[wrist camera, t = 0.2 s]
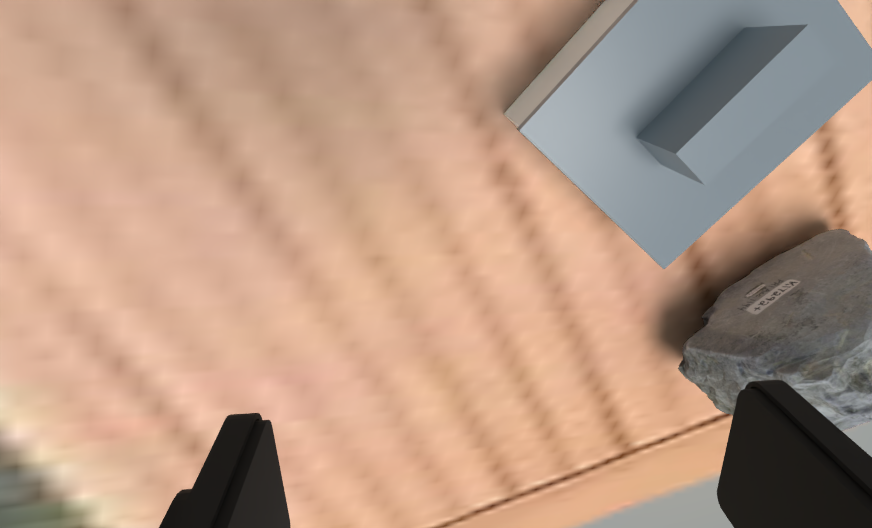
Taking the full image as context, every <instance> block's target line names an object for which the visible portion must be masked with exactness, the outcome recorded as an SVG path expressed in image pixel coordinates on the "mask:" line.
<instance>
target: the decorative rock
mask: <svg viewBox="0 0 872 528" xmlns="http://www.w3.org/2000/svg"><path fill="white" fill-rule="evenodd" d="M701 318H703V319H704V326H705V327H703V328H702V329H701V330H699V331H698V332H696V333H695V334H694V335H693V336H692V337H690V338H689V339H688V340H687V341H686V342H685V343H684V344H683V348H682V352H683V360H682V361H681V363H680V365H679V368H678V369H679V371H680V372H681V373H682V374H683V375H684V376H685V377H686V378H687V379H688V380H690V381H691V382H693V383H695V384H696V385H697V386H698V387H699V388H700V389H701V390H702V391H703V392H704V393H706V394H707V395H708V398H709V399H710V400H712V401H713V403H714V405H715V407H716V408H717V409H719V410H720V411H722V412H724V413H727V414H732V415H734V411H735V406H736V401H737V397H738V394H739V392H740V391H741V390H743V389H745V387H746V385H747V384H748V383H749V382H752V381H764V380H783V381H784V382H786V383H787V384H788V385H790V386H791V387H792V388H793V389H794V390H795V391H796V392H798V393H799V394H800V395H801V396H802V397H803V398H804V399H806V400H807V401H808V402H809V403H810V404H811V405H812V406H814V407H815V408H816V409H817V410H818V411H819V412H820V413H822V414H823V415H824V416H825V417H826V418H827V419H828V420H830V421H831V422H832V423H833V424H834V425H835V426H836V427H837V428H839V429H840V430H841V431H843V430H846V429H849V428H852V427H855V426H857V425H860V424H863V423H866V422H870V421H872V251H871V250H870V248H869V246H868V244H867V242H866V241H864V240H863V239H860V238H857V237H856V236H854V235H851V234H850V233H849V231H847V230H844V229H836V230H830V231H827V232H824V233H821V234H818V235H816V236H814V237H813V238H811V239H809V240H808V241H806V242H804V243H802V244H800V245H799V246H797V247H794V248H792V249H790V250H789V251H787V252H784V253H782V254H779V255H777V256H776V257H774V258H773V259H771V260H769V261H768V262H766V263H764V264H763V265H761V266H759V267H758V268H756V269H754V270H753V271H751V273H750V274H749V275H748V276H746V277H745V278H743V279H742V280H740V281H738V282H736V283H734V284H732V285H731V286H729V287H728V288H726V289H725V290H724V291H723V292H722V293H721V294H720V295H719V296H718V298H717V300H716V301H715V303H714V305H713V306H711V307H710V308H709V309H708V310H707V311H706V312H705V313H704V314H703V316H702V317H701Z"/></svg>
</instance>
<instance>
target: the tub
mask: <svg viewBox="0 0 872 528" xmlns="http://www.w3.org/2000/svg"><path fill="white" fill-rule="evenodd" d="M632 2H633V0H605V1H604V2H603V3H602V4H601V5H600V7H599V8H598V9H597V10H596V11H595V12H594V13H593V14H592V15H591V17H590V18H589V19H588V20H587V21H586V22H585V23H584V24H583V26H582V27H581V28H580V29H579V30H578V31H577V32H576V33H575V34H574V36H573V37H572V38H571V39H570V40H569V41H568V42H567V43H566V45H565V46H564V47H563V48H562V49H561V50H560V51H559V52H558V53H557V55H556V56H555V57H554V58H553V59H552V60H551V61H550V62H549V64H548V65H547V66H546V67H545V68H544V69H543V70H542V71H541V72H540V74H539V75H538V76H537V77H536V78H535V79H534V80H533V81H532V82H531V84H530V85H529V86H528V87H527V88H526V89H525V90H524V91H523V93H522V94H521V95H520V96H519V97H518V98H517V99H516V100H515V101H514V103H513V104H512V105H511V106H510V107H509V108H508V109H507V110H506V112H505V113H504V115H505V116H506V117H507V118H508V119H509V120H510V121H511V122H512V123H513V124H514V125H515V126H516V127H517V128H518V127H519V126H520V124H521V123H522V122H523V121H524V120H525V119H526V118H527V117H528V116H529V115H530V113H531V112H532V111H533V110H534V109H535V108H536V107H537V106H538V105H539V104H540V102H541V101H542V100H543V99H544V98H545V97H546V96H547V95H548V94H549V93H550V91H551V90H552V89H553V88H554V87H555V86H556V85H557V84H558V83H559V82H560V81H561V79H562V78H563V77H564V76H565V75H566V74H567V73H568V72H569V71H570V70H571V68H572V67H573V66H574V65H575V64H576V63H577V62H578V61H579V60H580V59H581V57H582V56H583V55H584V54H585V53H586V52H587V51H588V50H589V49H590V48H591V47H592V45H593V44H594V43H595V42H596V41H597V40H598V39H599V38H600V37H601V36H602V34H603V33H604V32H605V31H606V30H607V29H608V28H609V27H610V26H611V25H612V23H613V22H614V21H615V20H616V19H617V18H618V17H619V16H620V15H621V14H622V12H623V11H624V10H625V9H626V8H627V7H628V6H629V5H630V4H631V3H632Z"/></svg>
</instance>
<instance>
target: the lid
mask: <svg viewBox="0 0 872 528" xmlns="http://www.w3.org/2000/svg"><path fill="white" fill-rule="evenodd" d="M870 81H872V49H871V47H870V46H869V44H868V43H867V41H866V40H865V39H864V37H863V36H862V34H861V33H860V32H859V30H858V29H857V27H856V26H855V25H854V23H853V22H852V20H851V19H850V17H849V16H848V15H847V13H846V12H845V10H844V9H843V8H842V6H841V5H840V3H839V2H838V0H633V2H632V3H631V4H630V5H629V6H628V7H627V8H626V9H625V10H624V11H623V12H622V14H621V15H620V16H619V17H618V18H617V19H616V20H615V21H614V22H613V23H612V25H611V26H610V27H609V28H608V29H607V30H606V31H605V32H604V33H603V34H602V36H601V37H600V38H599V39H598V40H597V41H596V42H595V43H594V44H593V45H592V47H591V48H590V49H589V50H588V51H587V52H586V53H585V54H584V55H583V56H582V57H581V59H580V60H579V61H578V62H577V63H576V64H575V65H574V66H573V67H572V68H571V70H570V71H569V72H568V73H567V74H566V75H565V76H564V77H563V78H562V79H561V81H560V82H559V83H558V84H557V85H556V86H555V87H554V88H553V89H552V90H551V91H550V93H549V94H548V95H547V96H546V97H545V98H544V99H543V100H542V101H541V102H540V104H539V105H538V106H537V107H536V108H535V109H534V110H533V111H532V112H531V113H530V115H529V116H528V117H527V118H526V119H525V120H524V121H523V122H522V123H521V124H520V126H519V127H518V128H517V130H519V131H520V132H521V133H522V134H523V135H524V136H525V137H526V138H527V139H528V140H529V141H530V142H531V143H532V144H533V145H534V146H535V147H536V148H537V149H538V150H539V151H540V152H542V153H543V154H544V155H545V156H546V157H547V158H548V159H549V160H550V161H551V162H552V163H553V164H554V165H555V166H556V167H557V168H558V169H559V170H560V171H561V172H562V173H563V174H564V175H566V176H567V177H568V178H569V179H570V180H571V181H572V182H573V183H574V184H575V185H576V186H577V187H578V188H579V189H580V190H581V191H582V192H583V193H584V194H585V195H586V196H587V197H589V198H590V199H591V200H592V201H593V202H594V203H595V204H596V205H597V206H598V207H599V208H600V209H601V210H602V211H603V212H604V213H605V214H606V215H607V216H608V217H609V218H610V219H612V220H613V221H614V222H615V223H616V224H617V225H618V226H619V227H620V228H621V229H622V230H623V231H624V232H625V233H626V234H627V235H628V236H629V237H630V238H631V239H632V240H633V241H634V242H636V243H637V244H638V245H639V246H640V247H641V248H642V249H643V250H644V251H645V252H646V253H647V254H648V255H649V256H650V257H651V258H652V259H653V260H654V261H655V262H656V263H657V264H659V265H660V266H661V267H662V268H663V269H665V268H666V267H667V266H669V265H670V264H671V263H672V262H673V261H674V260H675V259H676V258H677V257H678V256H679V255H681V254H682V253H683V252H684V251H685V250H686V249H687V248H688V247H689V246H690V245H692V244H693V243H694V242H695V241H696V240H697V239H698V238H699V237H700V236H701V235H703V234H704V233H705V232H706V231H707V230H708V229H709V228H710V227H711V226H712V225H713V224H715V223H716V222H717V221H718V220H719V219H720V218H721V217H722V216H723V215H724V214H726V213H727V212H728V211H729V210H730V209H731V208H732V207H733V206H734V205H735V204H737V203H738V202H739V201H740V200H741V199H742V198H743V197H744V196H745V195H746V194H748V193H749V192H750V191H751V190H752V189H753V188H754V187H755V186H756V185H757V184H758V183H760V182H761V181H762V180H763V179H764V178H765V177H766V176H767V175H768V174H769V173H771V172H772V171H773V170H774V169H775V168H776V167H777V166H778V165H779V164H780V163H782V162H783V161H784V160H785V159H786V158H787V157H788V156H789V155H790V154H791V153H793V152H794V151H795V150H796V149H797V148H798V147H799V146H800V145H801V144H802V143H803V142H805V141H806V140H807V139H808V138H809V137H810V136H811V135H812V134H813V133H814V132H816V131H817V130H818V129H819V128H820V127H821V126H822V125H823V124H824V123H825V122H827V121H828V120H829V119H830V118H831V117H832V116H833V115H834V114H835V113H836V112H837V111H839V110H840V109H841V108H842V107H843V106H844V105H845V104H846V103H847V102H848V101H850V100H851V99H852V98H853V97H854V96H855V95H856V94H857V93H858V92H859V91H861V90H862V89H863V88H864V87H865V86H866V85H867V84H868V83H869V82H870Z"/></svg>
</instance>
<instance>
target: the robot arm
mask: <svg viewBox="0 0 872 528" xmlns="http://www.w3.org/2000/svg"><path fill="white" fill-rule="evenodd" d="M717 496H718V501H719V504H720V507H721V509H722V510H723V512H724V513H725V515H726V516H727V518H728V519H729V521H730V522H731V523H732V525H733V526H734V528H872V457H871V456H869V455H868V454H867V453H866V452H865V451H864V450H862V449H861V448H860V447H859V446H858V445H857V444H856V443H855V442H853V441H852V440H851V439H850V438H849V437H848V436H847V435H845V434H844V433H843V432H842V431H841V430H840V429H839V428H837V427H836V426H835V425H834V424H833V423H832V422H831V421H830V420H828V419H827V418H826V417H825V416H824V415H823V414H822V413H820V412H819V411H818V410H817V409H816V408H815V407H814V406H812V405H811V404H810V403H809V402H808V401H807V400H806V399H804V398H803V397H802V396H801V395H800V394H799V393H798V392H796V391H795V390H794V389H793V388H792V387H791V386H790V385H788V384H787V383H786V382H784V381H783V380H764V381H752V382H749V383H748V384H747V385H746V387H745V389H743V390H741V391H740V392H739V394H738V397H737V401H736V406H735V411H734V415H733V420H732V424H731V429H730V433H729V438H728V443H727V447H726V452H725V456H724V461H723V466H722V470H721V475H720V479H719V484H718V489H717ZM159 528H290V519H289V513H288V508H287V503H286V497H285V492H284V487H283V481H282V476H281V471H280V466H279V460H278V455H277V450H276V444H275V439H274V434H273V428H272V424H271V422H270V420H262V417H261V415H260V414H259V413H250V414H234V415H229V416H227V418H226V419H225V421H224V423H223V425H222V427H221V430H220V432H219V434H218V436H217V438H216V440H215V442H214V444H213V446H212V448H211V450H210V453H209V455H208V457H207V459H206V461H205V463H204V465H203V467H202V469H201V471H200V473H199V475H198V478H197V480H196V482H195V484H194V486H193V488H192V489H186V490H181V491H180V492H179V493H177V495H176V496H175V498H174V500H173V501H172V503H171V505H170V507H169V509H168V511H167V513H166V515H165V517H164V519H163V521H162V523H161V525H160V527H159Z"/></svg>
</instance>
